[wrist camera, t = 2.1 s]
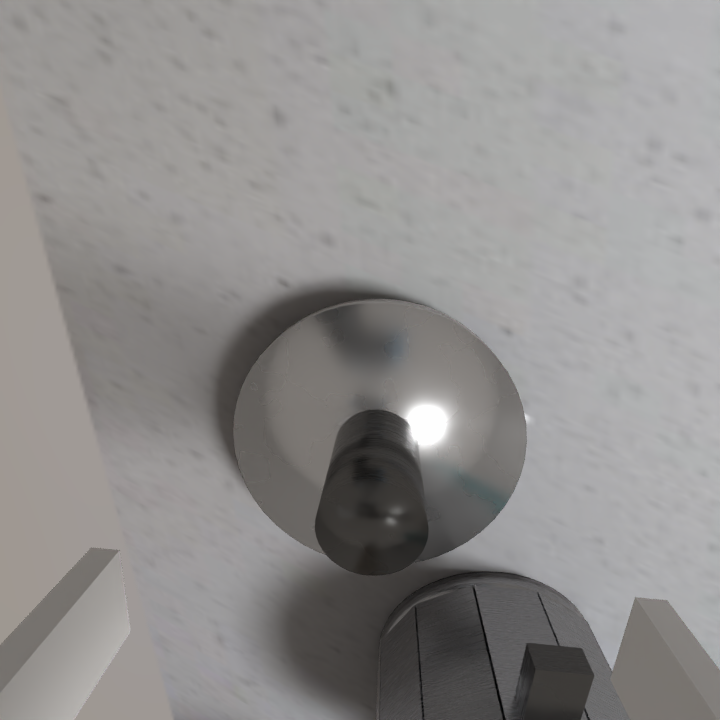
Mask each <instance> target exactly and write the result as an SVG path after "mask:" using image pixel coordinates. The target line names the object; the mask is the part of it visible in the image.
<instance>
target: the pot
mask: <svg viewBox="0 0 720 720" xmlns="http://www.w3.org/2000/svg"><path fill="white" fill-rule="evenodd" d="M611 675H612V671H611V669H610V667H609V665H608V663H607V661H606V659H605V657H604V655H603V653H602V651H601V649H600V647H599V645H598V643H597V641H596V638H595V636H594V634H593V632H592V630H591V628H590V626H589V624H588V622H587V621H586V620H585V619H584V617H583V615H582V614H581V613H580V612H579V610H578V609H577V608H576V607H575V605H573V604H572V603H571V602H570V601H569V600H568V599H567V598H566V597H564V596H563V595H562V594H560V593H559V592H557V591H556V590H554V589H552V588H550V587H548V586H547V585H545V584H543V583H540V582H537V581H535V580H532V579H530V578H526V577H522V576H518V575H513V574H506V573H497V572H478V573H467V574H461V575H455V576H452V577H448V578H445V579H441V580H439V581H436V582H434V583H431V584H429V585H427V586H425V587H423V588H421V589H419V590H418V591H416V592H415V593H413V594H412V595H410V596H409V597H408V598H406V599H405V600H404V601H403V602H402V603H401V604H400V605H399V606H398V607H397V608H396V609H395V610H394V612H393V613H392V614H391V615H390V617H389V619H388V621H387V622H386V624H385V626H384V629H383V631H382V634H381V638H380V644H379V666H378V677H377V703H376V720H630V719H629V717H628V715H627V712H626V710H625V708H624V706H623V704H622V702H621V700H620V698H619V696H618V694H617V692H616V690H615V688H614V686H613V684H612V682H611V680H610V678H611Z"/></svg>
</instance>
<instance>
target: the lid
mask: <svg viewBox="0 0 720 720" xmlns="http://www.w3.org/2000/svg"><path fill="white" fill-rule="evenodd" d="M233 440H234V448H235V455H236V458H237V462H238V466H239V470H240V472H241V474H242V477H243V479H244V482H245V484H246V486H247V488H248V490H249V491H250V493H251V495H252V496H253V498H254V500H255V501H256V502H257V504H258V505H259V506H260V508H261V509H262V510H263V512H264V513H265V514H266V515H267V516H268V517H269V518H270V519H271V520H272V521H273V522H274V523H275V524H276V525H277V526H278V527H279V528H281V529H282V530H283V531H284V532H285V533H287V534H288V535H289V536H291V537H292V538H294V539H295V540H297V541H298V542H300V543H302V544H303V545H305V546H307V547H309V548H311V549H313V550H315V551H317V552H319V553H322V554H325V555H327V556H328V557H329V558H330V559H331V560H332V561H333V562H334V563H336V564H337V565H339V566H340V567H342V568H344V569H346V570H349V571H351V572H354V573H358V574H362V575H373V576H377V575H386V574H391V573H394V572H397V571H400V570H402V569H404V568H406V567H407V566H409V565H410V564H412V563H414V562H420V561H423V560H427V559H430V558H433V557H437V556H439V555H442V554H444V553H446V552H449V551H451V550H453V549H455V548H457V547H459V546H460V545H462V544H464V543H466V542H468V541H469V540H470V539H472V538H473V537H474V536H476V535H477V534H478V533H480V532H481V531H482V530H483V529H484V528H485V527H487V526H488V525H489V524H490V523H491V522H492V521H493V520H494V519H495V518H496V516H497V515H498V514H499V513H500V511H501V510H502V509H503V508H504V506H505V505H506V503H507V502H508V500H509V498H510V497H511V495H512V493H513V492H514V489H515V487H516V485H517V482H518V480H519V478H520V475H521V471H522V468H523V464H524V460H525V453H526V444H527V436H526V421H525V416H524V411H523V406H522V403H521V400H520V397H519V395H518V392H517V389H516V387H515V385H514V383H513V381H512V379H511V378H510V376H509V374H508V372H507V371H506V369H505V368H504V366H503V365H502V364H501V362H500V361H499V360H498V358H497V357H496V356H495V354H494V353H493V352H492V351H491V349H490V348H489V347H488V346H487V345H486V344H485V343H484V342H483V341H482V340H481V339H480V338H479V337H478V336H477V335H476V334H474V333H473V332H472V331H471V330H469V329H468V328H467V327H465V326H464V325H463V324H461V323H460V322H458V321H456V320H454V319H453V318H451V317H449V316H447V315H446V314H444V313H441V312H439V311H436V310H434V309H431V308H429V307H426V306H423V305H419V304H415V303H411V302H407V301H401V300H393V299H362V300H354V301H347V302H343V303H339V304H336V305H332V306H329V307H326V308H323V309H321V310H319V311H316V312H314V313H312V314H309V315H308V316H306V317H304V318H303V319H301V320H299V321H298V322H296V323H294V324H293V325H292V326H290V327H289V328H288V329H287V330H285V331H284V332H283V333H282V334H281V335H279V336H278V337H277V338H276V339H275V340H274V341H273V342H272V343H271V344H270V346H269V347H268V348H267V349H266V350H265V351H264V352H263V353H262V354H261V355H260V356H259V358H258V359H257V361H256V362H255V364H254V365H253V367H252V368H251V369H250V371H249V373H248V375H247V377H246V379H245V381H244V383H243V385H242V387H241V390H240V394H239V397H238V400H237V403H236V408H235V414H234V422H233Z"/></svg>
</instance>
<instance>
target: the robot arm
mask: <svg viewBox="0 0 720 720" xmlns="http://www.w3.org/2000/svg"><path fill="white" fill-rule="evenodd" d="M130 631H131V630H130V622H129V616H128V608H127V600H126V593H125V585H124V578H123V571H122V563H121V556H120V550H112V549H101V548H91V549H90V550H89V551H88V552H87V553H86V554H85V555H84V556H83V557H82V558H81V559H80V560H79V561H78V562H77V564H76V565H75V566H74V567H73V568H72V569H71V570H70V571H69V572H68V573H67V574H66V575H65V576H64V577H63V578H62V580H61V581H60V582H59V583H58V584H57V585H56V586H55V587H54V588H53V589H52V590H51V591H50V592H49V593H48V594H47V596H46V597H45V598H44V599H43V600H42V601H41V602H40V603H39V604H38V605H37V606H36V607H35V609H34V610H33V611H32V612H31V613H30V614H29V615H28V616H27V617H26V618H25V619H24V620H23V621H22V622H21V624H19V626H18V627H17V628H16V629H15V630H14V631H13V632H12V633H11V634H10V635H9V636H8V637H7V638H6V640H4V642H3V643H2V644H1V645H0V720H74V719H75V717H76V716H77V714H78V713H79V711H80V710H81V708H82V706H83V705H84V703H85V702H86V700H87V698H88V697H89V696H90V694H91V693H92V691H93V689H94V688H95V686H96V685H97V683H98V681H99V680H100V678H101V677H102V675H103V674H104V672H105V671H106V669H107V668H108V666H109V664H110V663H111V661H112V660H113V658H114V656H115V655H116V654H117V652H118V650H119V649H120V647H121V646H122V644H123V643H124V641H125V639H126V638H127V636H128V635H129V633H130ZM610 680H611V682H612V684H613V686H614V688H615V690H616V692H617V694H618V696H619V698H620V700H621V702H622V704H623V706H624V708H625V710H626V712H627V715H628V717H629V719H630V720H720V670H719V669H718V667H717V666H716V665H715V663H714V662H713V661H712V659H711V658H710V657H709V655H708V654H707V653H706V651H705V650H704V649H703V647H702V646H701V645H700V643H699V642H698V641H697V639H696V638H695V637H694V635H693V634H692V633H691V631H690V630H689V629H688V628H687V626H686V625H685V624H684V622H683V621H682V620H681V618H680V617H679V616H678V614H677V613H676V612H675V610H674V609H673V608H672V606H671V605H670V604H669V602H668V601H667V600H657V599H646V598H636V597H635V600H634V603H633V606H632V610H631V613H630V616H629V619H628V623H627V626H626V629H625V632H624V636H623V639H622V642H621V646H620V649H619V652H618V655H617V659H616V662H615V665H614V668H613V672H612V675H611V678H610Z"/></svg>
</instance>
